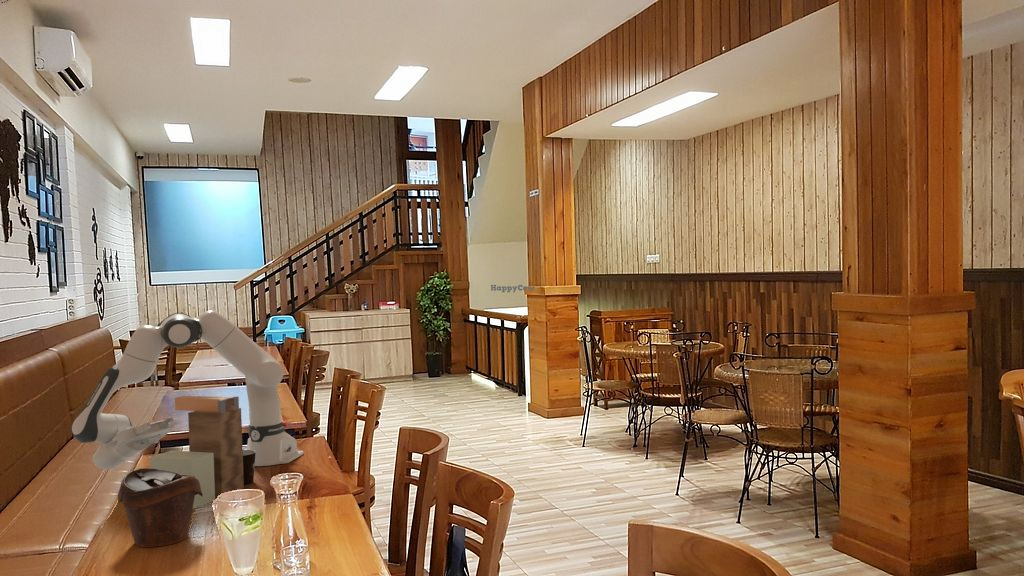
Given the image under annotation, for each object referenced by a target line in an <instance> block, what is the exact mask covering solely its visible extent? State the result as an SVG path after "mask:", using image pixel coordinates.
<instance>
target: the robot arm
mask: <svg viewBox="0 0 1024 576" xmlns="http://www.w3.org/2000/svg"><path fill="white" fill-rule="evenodd" d="M199 340H202V341H203V342H205V343H207V344H208V345H209V346H210V348H212V349H213V350H214V351H215V352H217V353H218V354H219V355H220V357H222V358H223V359H225V360H226V361H227V362H228V363H229V364H231V365H232V366H233V367H234V368H235V369H236V370H238V371H239V372H240V373H241V374H243V375H244V377H245V386H246V393H247V400H248V412H249V414H248V415H249V424H248V429H247V430H248V436H249V438H248V439H247V445H246V450H255V451H256V455H255V467H267V466H274V465H280V464H281V465H282V464H283V465H285V464H289V463H290V462H292V461H294V460H296V459H297V458H300V457H301V456H303V455H305V452H304V451H303V450H301V449H298V445H297V444H298V443H297V439H296V438H294V437H293V436H291V435H290V434H289V433H287V432H286V431H285V428H288V427H289V422H288V421H282V413H281V399H280V395H279V391H278V385H279V384H280V383H281V382H282V380H283V378H284V370H283V369H284V368H283V366H282V364H281V363H280V361H278V360H277V359H275V358H274V356H272V355H271V354H270V353H268V352H267V351H266V350H265V349H263V348H262V347H261V346H260V345H258V344H257V342H255V341H253V340H252V339H251V338H250V337H249V336H248V335H246V333H245V332H243V331H242V330H241V329H240V328H239V327H238V326H237V325H236V324H234V323H233V322H232V321H231V320H229V319H228V318H227V317H225V316H224V315H223V314H221V313H220V312H217V311H216V310H212V309H210V310H205V311H204V312H202V313H200V314H199V315H198V316H197V317H191V316H190V315H189V314H187V313H184V312H175V313H172V314H169V316H167V317H166V318H164V319H163V320H162V321H161V322H159V323H158V324H157V326H155V325H150V324H145V325H144V324H142V325H140V326H138V327H137V328H136V329H135V331H134V332H133V334H132V335H131V337H130V338H129V341H128V342H127V344H126V347H125V349H124V352H123V354H122V355H121V357H120V359H118V361H117V362H116V363H115V365H113V366H112V367H110V368H108V369H107V370H106V371H105V372H104V373H103V375H101V376H102V377H101V378H100V379H99V381H98V382H97V383H96V386H95V388H94V389H93V392H92V393H91V395H90V396H89V398H88V399H87V402H86V403H85V405H84V406H83V408H82V409H81V410H80V412H79V413H78V415H77V416H76V417H75V418H74V419H73V421H72V424H71V426H70V427H71V434H72V436H73V437H74V439H75V440H76V441H78V442H79V443H80V444H85V443H86V444H87V443H88V444H89V443H99V445H98V446H99V447H98V448H97V450H96V451H95V453H94V454H93V456H92V462H93V464H94V465H95V466H96V467H97V468H99V469H100V470H104V471H111V470H114V469H116V468H118V467H120V466H121V465H123V464H124V463H126V462H128V461H129V460H130V458H133V457H135V456H136V455H137V454H139V453H141V452H143V451H144V450H146V449H147V448H149V447H152V446H154V445H156V444H158V443H159V442H160V441H159V440H161V439H163V438H164V437H166V436H167V434H169V433H170V432H171V431H173V430H174V429H175V425H174V418H173V417H172V416H169V417H166V418H165V419H162V420H159V421H154V422H150V421H147V422H144V423H142V424H141V425H138V426H133V424H132V421H131V420H130V418H129V417H128V416H127V415H125V414H119V413H103V410H104V409H105V407H106V405H107V404H108V401H110V399H111V397H112V395H113V393H115V392H116V391H117V390H119V389H121V388H123V387H126V386H129V385H133V384H139V383H141V382H143V381H145V380H147V379H149V378H150V377H151V376H152V374H153V373H154V372H155V370H156V367H157V364H158V363H159V360H160V356H161V354H162V352H163V350H164V349H165V348H167V347H168V346H170V347H173V348H176V349H177V348H178V349H182V348H185V347H188V346H190V345H191V344H193V343H195V342H198V341H199Z"/></svg>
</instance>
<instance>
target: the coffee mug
mask: <svg viewBox="0 0 1024 576" xmlns="http://www.w3.org/2000/svg"><path fill="white" fill-rule="evenodd" d="M255 455H256V451H255V450H247V449H243V476H244V486H247V485H248V486H249V485H251V484H252V483H254V475H255V467H256V466H255Z"/></svg>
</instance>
